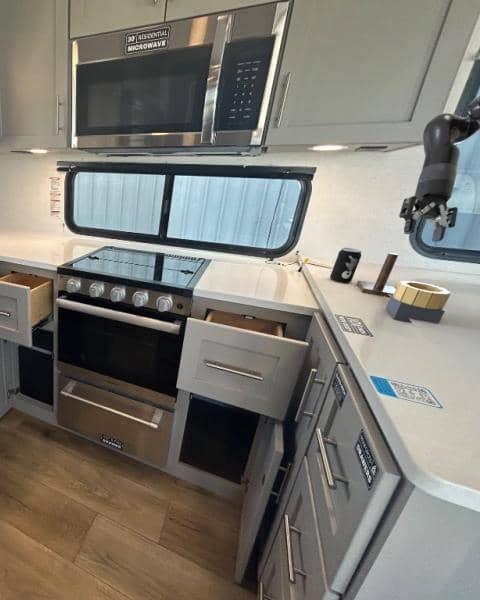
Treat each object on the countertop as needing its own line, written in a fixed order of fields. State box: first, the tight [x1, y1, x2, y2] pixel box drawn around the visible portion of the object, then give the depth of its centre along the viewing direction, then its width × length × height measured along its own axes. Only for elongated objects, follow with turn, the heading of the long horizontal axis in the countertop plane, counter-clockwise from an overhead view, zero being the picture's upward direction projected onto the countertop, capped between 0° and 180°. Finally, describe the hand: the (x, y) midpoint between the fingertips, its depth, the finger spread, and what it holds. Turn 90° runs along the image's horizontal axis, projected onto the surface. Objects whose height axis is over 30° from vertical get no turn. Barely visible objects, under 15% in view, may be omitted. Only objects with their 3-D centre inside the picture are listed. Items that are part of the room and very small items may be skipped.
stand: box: [356, 252, 400, 298], centre depth 111 cm, size 10×10×14 cm
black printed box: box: [329, 247, 362, 284], centre depth 121 cm, size 7×7×12 cm
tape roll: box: [393, 280, 452, 310], centre depth 91 cm, size 10×10×4 cm
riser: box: [385, 293, 446, 325], centre depth 93 cm, size 9×9×5 cm
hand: (422, 237), depth 95 cm, fingers open, 8 cm apart
